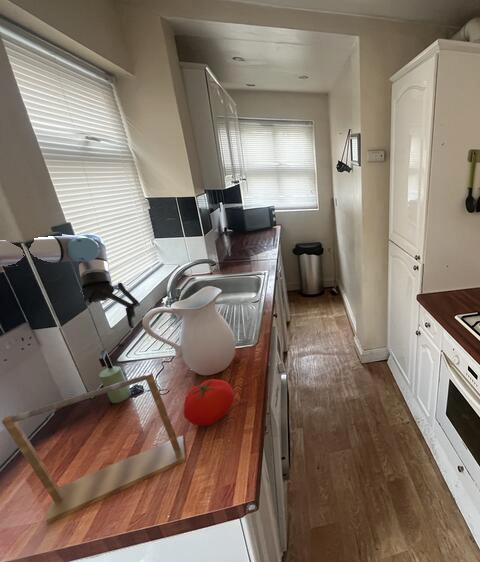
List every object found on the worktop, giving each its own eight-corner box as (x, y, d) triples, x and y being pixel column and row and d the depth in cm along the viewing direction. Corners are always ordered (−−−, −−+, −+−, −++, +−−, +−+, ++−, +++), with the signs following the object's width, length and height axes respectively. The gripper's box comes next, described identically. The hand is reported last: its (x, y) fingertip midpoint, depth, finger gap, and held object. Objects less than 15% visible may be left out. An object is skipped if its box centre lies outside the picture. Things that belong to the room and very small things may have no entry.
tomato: (209, 397, 95) (200, 369, 91) (245, 401, 93) (238, 373, 89) (177, 432, 83) (165, 402, 79) (218, 437, 81) (208, 407, 77)
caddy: (109, 405, 93) (89, 362, 87) (111, 395, 98) (92, 353, 91) (130, 398, 96) (112, 355, 90) (131, 389, 100) (114, 347, 94)
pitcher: (229, 346, 121) (212, 281, 111) (247, 364, 110) (231, 294, 99) (159, 375, 106) (132, 303, 95) (171, 400, 95) (143, 321, 84)
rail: (47, 524, 63) (-15, 437, 54) (57, 491, 69) (4, 408, 60) (186, 461, 75) (155, 381, 66) (184, 438, 82) (156, 362, 72)
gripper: (142, 273, 113) (154, 325, 107) (51, 289, 101) (58, 349, 95) (137, 263, 107) (149, 317, 101) (39, 279, 95) (46, 342, 89)
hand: (105, 333), depth 98 cm, fingers open, 13 cm apart
